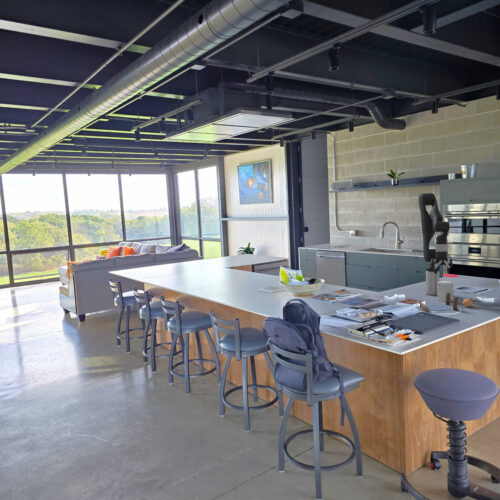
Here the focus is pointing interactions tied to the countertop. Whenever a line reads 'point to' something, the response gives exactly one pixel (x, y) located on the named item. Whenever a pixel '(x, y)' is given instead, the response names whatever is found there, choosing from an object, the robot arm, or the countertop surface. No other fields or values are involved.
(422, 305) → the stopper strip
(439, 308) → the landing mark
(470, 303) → the ball
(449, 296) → the post
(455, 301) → the post
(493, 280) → the countertop surface
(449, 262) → the robot arm
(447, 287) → the small box
